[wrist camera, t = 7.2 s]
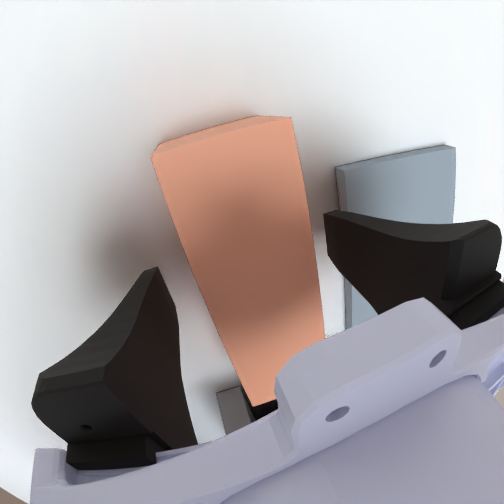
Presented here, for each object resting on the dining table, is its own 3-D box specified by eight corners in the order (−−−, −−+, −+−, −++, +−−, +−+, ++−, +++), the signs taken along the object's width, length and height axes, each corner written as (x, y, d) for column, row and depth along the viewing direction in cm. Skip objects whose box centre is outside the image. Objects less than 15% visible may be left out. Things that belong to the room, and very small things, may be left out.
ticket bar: (236, 352, 17) (253, 406, 13) (159, 143, 11) (150, 157, 7) (300, 329, 17) (328, 378, 14) (254, 115, 11) (290, 117, 8)
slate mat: (345, 378, 20) (349, 385, 20) (334, 167, 13) (344, 170, 12) (423, 337, 21) (429, 343, 21) (445, 145, 14) (455, 147, 13)
